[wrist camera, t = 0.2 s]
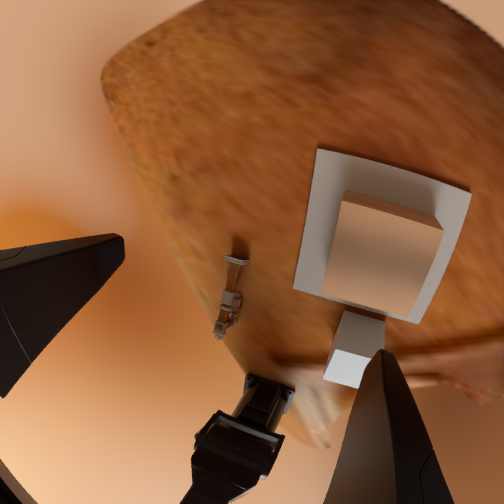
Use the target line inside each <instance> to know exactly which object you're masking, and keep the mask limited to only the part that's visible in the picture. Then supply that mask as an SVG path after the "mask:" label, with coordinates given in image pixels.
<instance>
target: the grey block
mask: <svg viewBox="0 0 504 504" xmlns="http://www.w3.org/2000/svg"><path fill="white" fill-rule="evenodd" d="M384 342H385V321H381V320H378V319H374V318H370V317H367V316H363V315H360V314H356V313H353V312H349V311H346V310H344V313H343V316H342V318H341V321H340V324H339V326H338V329H337V331H336V334H335V336H334V339H333V342H332V345H331V349H330V353H329V356H328V360H327V364H326V367H325V370H324V374H323V377H322V379H325V380H329V381H332V382H336V383H339V384H343V385H347V386H350V387H354V388H359V385H360V382H361V379H362V375H363V372H364V369H365V367H366V366H367V364H368V363H369V361H370V360H371V359H372V358H373V356H374V355H375V354H376V352H377V351H378V350H379V349H384Z"/></svg>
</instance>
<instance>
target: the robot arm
mask: <svg viewBox="0 0 504 504" xmlns="http://www.w3.org/2000/svg"><path fill="white" fill-rule="evenodd" d="M124 259H125V247H124V239H123V237H122V236H120V235H118V234H116V233H110V234H102V235H95V236H88V237H82V238H75V239H67V240H61V241H55V242H49V243H43V244H36V245H30V246H24V247H18V248H12V249H6V250H0V396H1V398H4V397H6V395H7V394H8V393H9V391H10V390H11V389H12V388H13V386H14V385H15V384H16V382H17V381H18V380H19V378H20V377H21V376H22V375H23V374H24V372H25V371H26V370H27V369H28V368H29V366H30V365H31V363H32V362H33V361H34V360H35V359H36V358H37V357H38V355H39V354H40V353H41V352H42V351H43V349H44V348H45V347H46V346H47V345H48V344H49V343H50V342H51V341H52V339H53V338H54V337H55V336H56V335H57V334H58V333H59V332H60V331H61V329H62V328H63V327H64V326H65V325H66V324H67V323H68V322H69V321H70V320H71V319H72V318H73V317H74V316H75V314H77V313H78V311H79V310H80V309H81V308H82V307H83V306H84V305H85V304H86V303H87V302H88V301H89V300H90V299H91V298H92V297H93V296H94V295H95V294H96V293H97V292H98V291H99V290H100V289H101V287H102V286H103V285H104V284H105V283H106V282H107V280H108V279H109V278H110V277H111V276H112V275H113V273H114V272H115V271H116V270H117V269H118V268H119V266H120V265H121V264H122V263H123V261H124ZM294 393H295V390H294V389H292V388H289V387H286V386H283V385H280V384H277V383H274V382H271V381H268V380H266V379H263V378H260V377H257V376H255V375H252V374H247V375H246V377H245V384H244V392H243V396H242V398H241V399H240V401H239V403H238V405H237V406H236V408H235V410H234V412H233V413H232V415H231V416H230V415H228V414H226V413H223V412H222V411H221V410H218V411H217V412H216V414H213V416H212V417H211V418H210V420H209V421H208V422H207V423H206V425H205V426H204V427H203V428H202V429H200V431H198V432H197V433H196V434H195V440H196V442H195V445H194V450H195V452H194V454H193V455H192V457H191V467H192V482H193V483H192V486H191V488H190V489H189V491H188V492H187V494H186V495H185V496H184V498H183V500H182V501H181V502H180V504H229V503H231V502H233V501H235V500H237V499H239V498H241V497H242V496H244V495H246V494H248V493H249V492H251V491H252V489H253V488H254V487H255V485H256V484H257V482H258V480H259V478H261V479H264V480H265V479H266V478H267V476H268V474H269V473H270V471H271V469H272V467H273V464H274V462H275V460H276V458H277V456H278V453H279V450H280V448H281V446H282V443H283V441H284V438H285V435H282V434H281V435H280V434H277V433H274V432H275V430H276V428H277V426H278V423H279V421H280V419H281V417H282V414H286V413H287V410H288V408H289V405H290V403H291V401H292V398H293V396H294ZM432 449H433V446H432V443H431V441H430V438H429V435H428V433H427V430H426V427H425V425H424V422H423V420H422V417H421V415H420V413H419V410H418V408H417V405H416V403H415V400H414V398H413V396H412V393H411V391H410V389H409V386H408V384H407V382H406V380H405V378H404V375H403V373H402V371H401V369H400V367H399V364H398V362H397V360H396V358H395V356H394V354H393V353H392V352H391V351H388V350H385V349H379V350H378V351H377V352H376V354H375V355H374V356H373V358H372V359H371V360H370V361H369V363H368V364H367V366H366V367H365V369H364V372H363V375H362V379H361V382H360V385H359V388H358V392H357V395H356V398H355V401H354V404H353V407H352V410H351V413H350V416H349V420H348V424H347V428H346V432H345V436H344V440H343V443H342V447H341V451H340V454H339V458H338V461H337V465H336V468H335V471H334V474H333V477H332V480H331V484H330V486H329V489H328V492H327V495H326V498H325V500H324V503H323V504H454V501H453V499H452V496H451V494H450V491H449V489H448V486H447V484H446V481H445V479H444V476H443V474H442V471H441V468H440V465H439V463H438V460H437V457H436V454H435V451H434V450H432ZM0 504H38V503H37V502H36V501H35V500H34V499H33V498H32V497H31V496H30V495H29V494H28V493H27V491H26V490H25V489H24V488H23V487H22V486H21V484H20V483H19V482H18V481H17V480H16V479H15V477H14V476H13V475H12V474H11V472H10V471H9V470H8V468H7V467H6V466H5V465H4V463H3V462H2V460H1V459H0Z"/></svg>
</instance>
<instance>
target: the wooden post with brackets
mask: <svg viewBox="0 0 504 504" xmlns="http://www.w3.org/2000/svg"><path fill="white" fill-rule="evenodd" d="M224 256H225V259H224V260H227V261H228V274H227V284H226V289H225V290H223V296H222V300H221V303H222V304H221V305H220V307H219V308H221V309H220V313H219V317H218V320H216V324H215V327H214V331H213V333H214V334H215V338H216V339H218V340H220V339H222V337H223V336H224V335H225V334H226V329H227V328H228V327H230V326H234V325H235V324H236V323H237V321H238V318H237V317H234V314H236V311H238V310H240V309H241V308H240V303H241V300H242V299H241V298H240V296H241V295H240V293H238V292H236V286H237V283H238V280H239V277H240V274H241V271H242V269H243V266H244V264H249V260H246V261H244V260H241V259H237V258H234V257H232V255H224ZM230 310H231V312H230ZM229 313H231V314H232V315H231V316H232V317H231V316H230V317H229Z"/></svg>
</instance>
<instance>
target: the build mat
mask: <svg viewBox="0 0 504 504" xmlns="http://www.w3.org/2000/svg"><path fill="white" fill-rule="evenodd" d="M346 190H348V191H352V192H356V193H360V194H364V195H368V196H371V197H375V198H378V199H382V200H385V201H389V202H392V203H396V204H399V205H402V206H406V207H409V208H412V209H415V210H418V211H422V212H425V213H428V214H431V215H434V216H435V217H436V218H437V220H438V221H439V223H440V225H441V226H442V228H443V229H444V234H443V237H442V239H441V242H440V245H439V248H438V250H437V253H436V255H435V258H434V261H433V263H432V265H431V268H430V270H429V273H428V275H427V277H426V280H425V282H424V284H423V286H422V289H421V291H420V293H419V295H418V297H417V299H416V301H415V303H414V305H413V307H412V309H411V311H410V313H409V315H408V317H403V316H400V315H396V314H392V313H389V312H385V311H382V310H378V309H374V308H371V307H367V306H364V305H360V304H357V303H353V302H350V301H346V300H343V299H339V298H336V297H332V296H329V295H325V294H322V293H320V290H321V286H322V283H323V279H324V275H325V271H326V267H327V264H328V260H329V256H330V252H331V248H332V243H333V239H334V235H335V231H336V226H337V222H338V217H339V213H340V208H341V203H342V199H343V197H344V194H345V191H346ZM471 196H472V194H471V193H469V192H467V191H464V190H462V189H459V188H457V187H454V186H451V185H449V184H446V183H443V182H441V181H438V180H435V179H432V178H429V177H426V176H423V175H420V174H417V173H414V172H411V171H407V170H404V169H401V168H397V167H394V166H391V165H387V164H383V163H380V162H376V161H372V160H368V159H364V158H360V157H356V156H352V155H348V154H344V153H339V152H334V151H330V150H325V149H320V148H317V154H316V161H315V168H314V174H313V180H312V187H311V193H310V199H309V205H308V211H307V216H306V222H305V228H304V233H303V239H302V244H301V249H300V254H299V259H298V265H297V270H296V274H295V279H294V284H293V289H296V290H299V291H302V292H306V293H309V294H312V295H316V296H319V297H323V298H326V299H329V300H333V301H336V302H340V303H343V304H347V305H350V306H354V307H357V308H361V309H365V310H368V311H372V312H375V313H379V314H382V315H386V316H390V317H393V318H397V319H401V320H405V321H408V322H412V323H416V324H419V322H420V321H421V319H422V317H423V315H424V313H425V311H426V309H427V307H428V305H429V303H430V301H431V299H432V297H433V295H434V293H435V291H436V289H437V287H438V285H439V283H440V281H441V278H442V276H443V274H444V272H445V269H446V267H447V265H448V262H449V260H450V257H451V255H452V252H453V250H454V247H455V245H456V242H457V239H458V237H459V234H460V231H461V228H462V225H463V222H464V219H465V216H466V213H467V210H468V206H469V203H470V200H471Z"/></svg>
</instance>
